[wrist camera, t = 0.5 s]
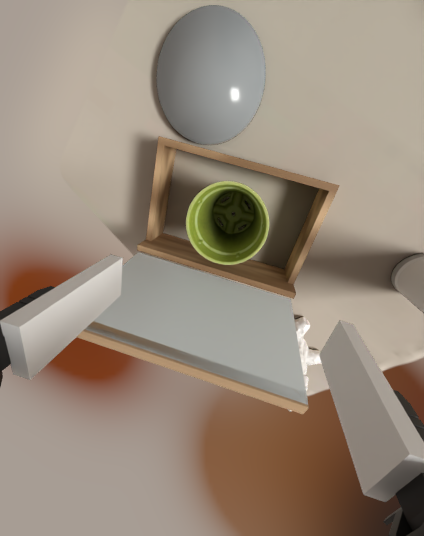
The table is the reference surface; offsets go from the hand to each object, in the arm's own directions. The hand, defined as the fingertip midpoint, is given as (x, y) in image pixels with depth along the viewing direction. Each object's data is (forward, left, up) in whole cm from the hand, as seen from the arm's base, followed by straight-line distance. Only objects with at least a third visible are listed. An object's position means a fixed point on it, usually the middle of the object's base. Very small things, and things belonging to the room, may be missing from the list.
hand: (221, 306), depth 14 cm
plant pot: (-1, -2, -22) cm, 22 cm away
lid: (+6, -2, -8) cm, 10 cm away
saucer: (-15, -9, -22) cm, 28 cm away
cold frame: (-1, -2, -22) cm, 22 cm away
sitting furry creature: (+18, +14, -22) cm, 32 cm away
